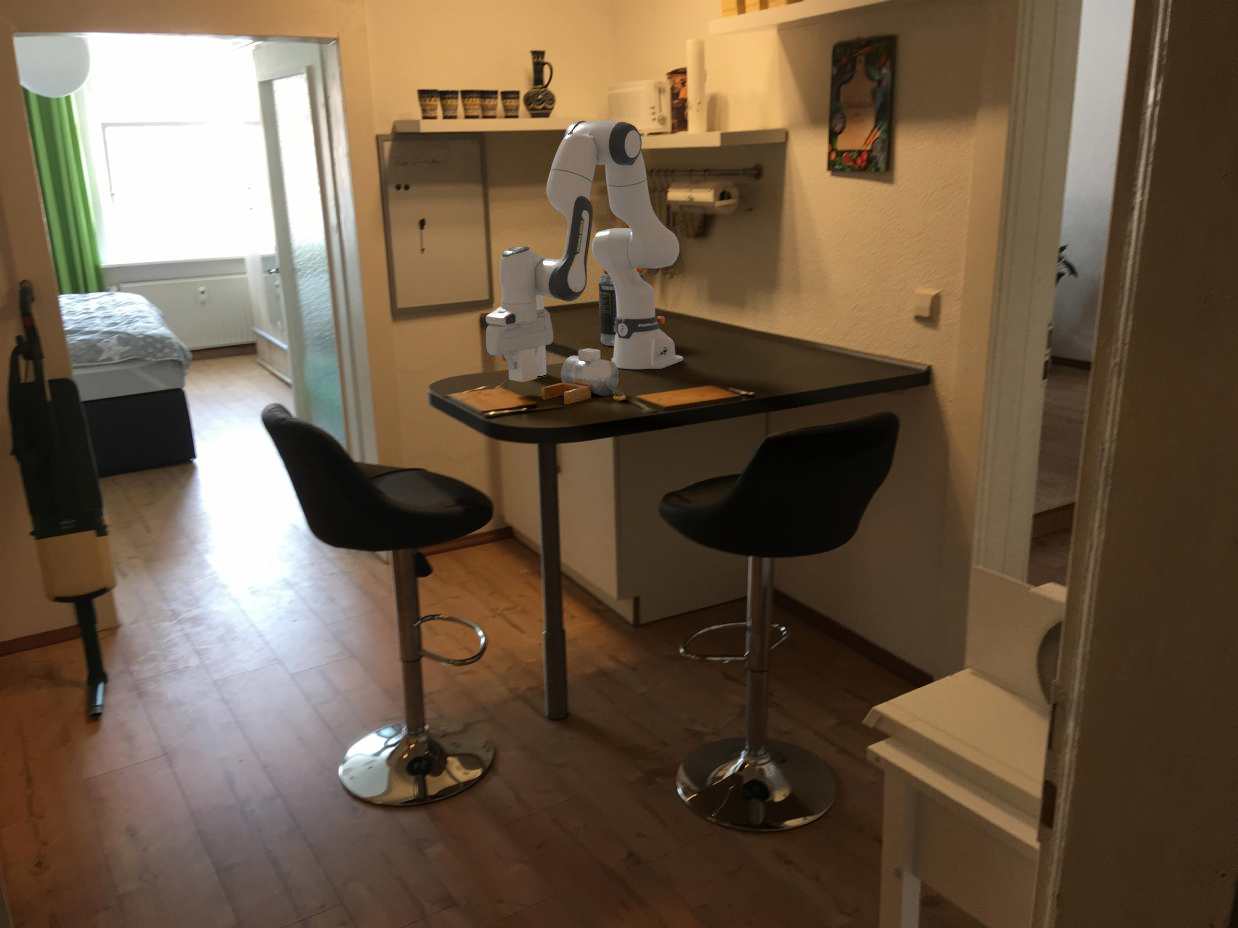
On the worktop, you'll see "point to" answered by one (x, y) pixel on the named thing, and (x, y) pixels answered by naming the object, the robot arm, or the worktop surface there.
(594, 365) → the motor mount
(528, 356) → the block
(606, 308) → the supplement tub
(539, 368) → the cylindrical container
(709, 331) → the worktop surface
